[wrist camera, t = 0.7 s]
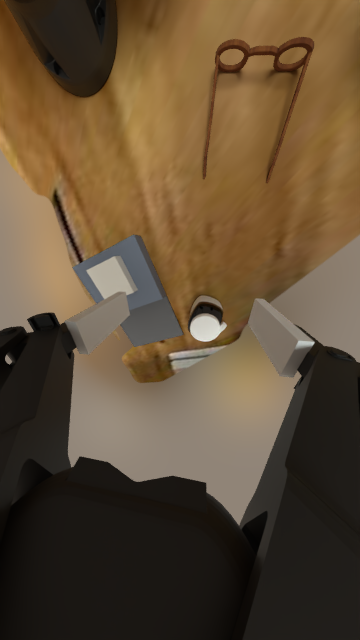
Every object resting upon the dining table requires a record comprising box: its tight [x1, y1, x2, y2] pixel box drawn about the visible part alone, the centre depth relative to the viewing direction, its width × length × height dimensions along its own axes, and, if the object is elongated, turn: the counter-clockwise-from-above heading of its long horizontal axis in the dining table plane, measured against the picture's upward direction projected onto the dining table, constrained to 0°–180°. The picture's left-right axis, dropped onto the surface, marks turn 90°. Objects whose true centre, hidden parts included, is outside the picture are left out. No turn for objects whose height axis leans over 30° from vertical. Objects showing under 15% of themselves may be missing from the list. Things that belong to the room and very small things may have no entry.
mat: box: [120, 295, 183, 347], centre depth 46 cm, size 14×20×1 cm
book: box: [72, 235, 166, 310], centre depth 38 cm, size 16×20×4 cm
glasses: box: [203, 37, 314, 183], centre depth 22 cm, size 13×13×5 cm
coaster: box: [86, 256, 138, 299], centre depth 35 cm, size 9×9×2 cm
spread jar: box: [188, 296, 227, 342], centre depth 36 cm, size 12×11×12 cm
